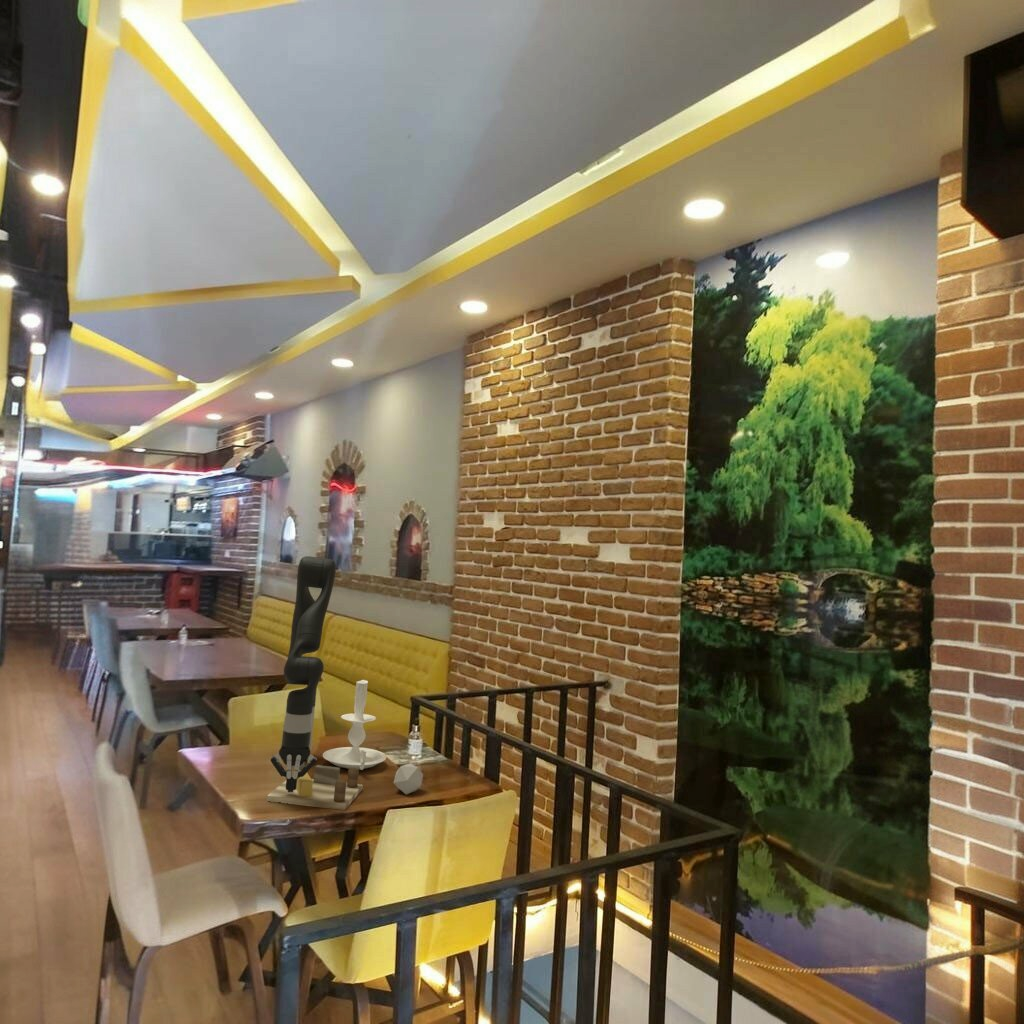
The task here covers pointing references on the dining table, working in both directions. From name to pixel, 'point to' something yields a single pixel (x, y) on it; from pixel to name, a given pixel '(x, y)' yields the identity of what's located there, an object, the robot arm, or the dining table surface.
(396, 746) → the dining table surface
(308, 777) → the bar
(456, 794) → the dining table surface
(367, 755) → the candlestick
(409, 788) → the die
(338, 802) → the seat board
